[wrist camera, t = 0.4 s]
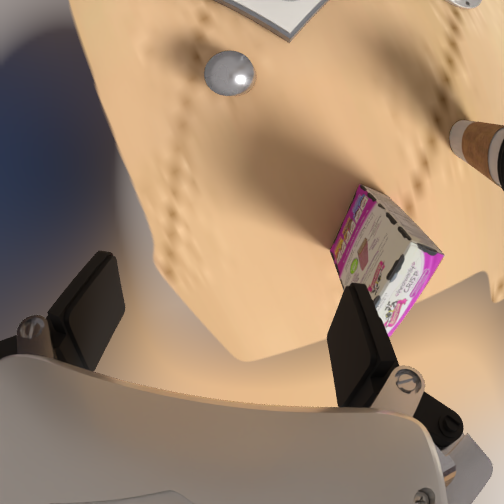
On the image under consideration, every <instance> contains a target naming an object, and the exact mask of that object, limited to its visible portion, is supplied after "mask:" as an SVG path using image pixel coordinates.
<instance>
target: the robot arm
mask: <svg viewBox="0 0 504 504" xmlns="http://www.w3.org/2000/svg"><path fill="white" fill-rule="evenodd" d="M445 1H447V2H448V3H450V4H452V5H454V6H457V7H459V8H463V9H471V8H475V7H477V6H479V4H480V3H481V1H482V0H445ZM124 312H125V303H124V298H123V293H122V288H121V284H120V277H119V272H118V266H117V260H116V257H115V256H113V254H112V253H111V252H106V251H98V252H97V253H96V254H95V255H94V256H93V257H92V258H91V260H90V261H89V262H88V263H87V264H86V265H85V266H84V268H83V269H82V270H81V271H80V272H79V273H78V275H77V276H76V277H75V278H74V279H73V281H72V282H71V283H70V284H69V286H68V287H67V288H66V289H65V290H64V292H63V293H62V294H61V295H60V297H59V298H58V299H57V301H56V302H55V303H54V304H53V306H52V307H51V308H50V310H49V311H48V316H47V317H46V318H45V317H43V316H41V315H32V316H29V317H27V318H25V319H24V320H22V322H21V323H20V324H19V326H18V328H17V335H15V336H13V337H10V338H7V339H5V340H2V341H0V504H471V503H472V502H473V501H474V500H475V498H476V497H477V495H478V494H479V493H480V492H481V490H482V489H483V487H484V486H485V485H486V483H487V482H488V480H489V479H490V477H491V475H492V471H493V467H492V463H491V461H490V459H489V458H488V457H487V456H486V454H485V453H484V452H483V451H482V450H481V448H480V447H479V446H478V445H477V444H476V442H474V440H473V439H472V438H471V437H470V435H469V434H468V433H467V434H466V435H464V434H463V422H462V420H461V418H460V416H459V415H458V414H457V413H456V412H454V411H453V410H451V409H450V408H448V407H447V406H445V405H444V404H442V403H441V402H439V401H438V400H436V399H435V398H433V397H432V396H430V395H429V394H427V393H426V392H424V388H425V381H424V379H423V377H422V375H421V374H420V373H419V372H418V371H417V370H416V369H414V368H412V367H410V366H399V364H398V361H397V358H396V355H395V353H394V350H393V347H392V344H391V342H390V339H389V336H388V334H387V331H386V329H385V326H384V324H383V321H382V319H381V318H380V317H379V315H378V312H377V310H376V308H375V305H374V303H373V300H372V298H371V295H370V293H369V291H368V288H367V286H366V284H362V283H351V284H350V286H346V287H345V289H344V292H343V295H342V298H341V300H340V303H339V306H338V308H337V311H336V313H335V316H334V319H333V321H332V324H331V326H330V329H329V331H328V334H327V343H328V348H329V354H330V360H331V365H332V371H333V377H334V384H335V390H336V397H337V403H338V407H299V406H280V405H265V404H253V403H244V402H235V401H227V400H219V399H212V398H206V397H199V396H193V395H188V394H182V393H177V392H172V391H166V390H162V389H157V388H153V387H148V386H144V385H140V384H136V383H132V382H128V381H124V380H120V379H117V378H113V377H109V376H106V375H103V374H99V373H96V372H93V371H94V370H95V369H96V367H97V364H98V363H99V361H100V358H101V357H102V354H103V353H104V351H105V348H106V347H107V345H108V343H109V341H110V339H111V337H112V335H113V333H114V331H115V329H116V327H117V325H118V324H119V322H120V320H121V318H122V316H123V314H124Z"/></svg>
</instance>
